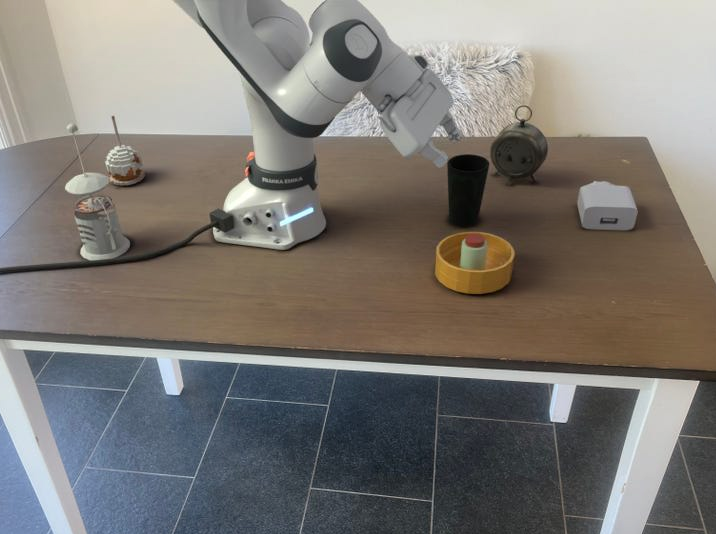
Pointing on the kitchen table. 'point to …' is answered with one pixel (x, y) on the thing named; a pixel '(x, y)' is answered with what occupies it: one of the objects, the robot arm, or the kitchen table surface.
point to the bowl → (474, 280)
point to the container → (473, 252)
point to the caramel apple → (123, 163)
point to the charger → (606, 207)
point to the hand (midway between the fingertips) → (452, 151)
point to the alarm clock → (519, 150)
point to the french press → (95, 215)
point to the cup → (466, 188)
